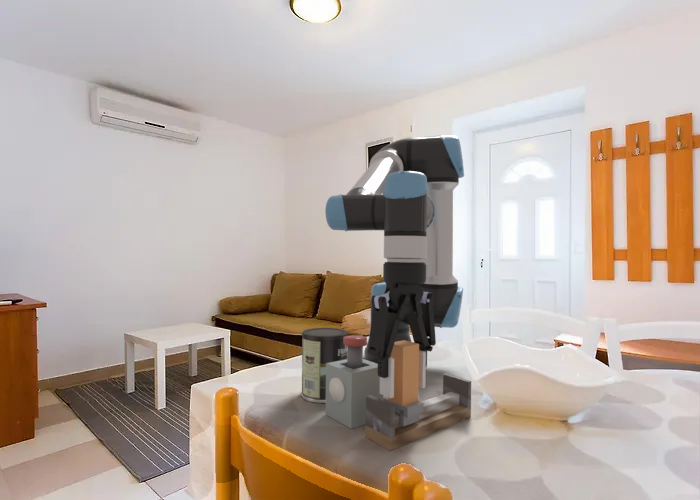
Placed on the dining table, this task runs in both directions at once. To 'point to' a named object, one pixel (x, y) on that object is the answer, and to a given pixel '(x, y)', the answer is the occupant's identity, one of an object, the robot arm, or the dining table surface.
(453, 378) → the guide rail
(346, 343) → the plunger
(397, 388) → the carriage
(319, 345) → the coffee can
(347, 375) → the gray socket box
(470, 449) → the dining table surface
